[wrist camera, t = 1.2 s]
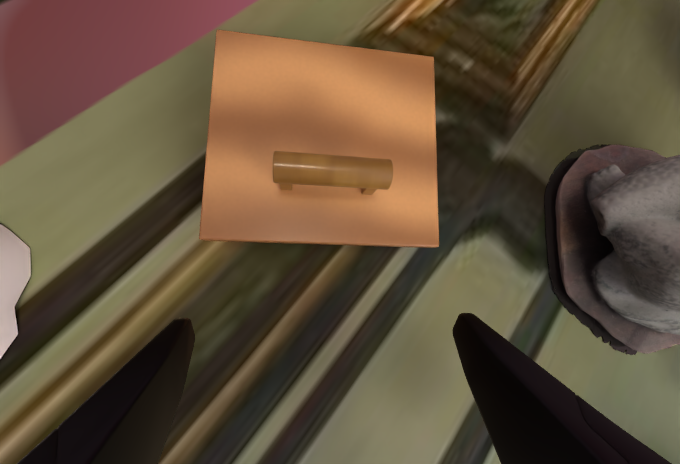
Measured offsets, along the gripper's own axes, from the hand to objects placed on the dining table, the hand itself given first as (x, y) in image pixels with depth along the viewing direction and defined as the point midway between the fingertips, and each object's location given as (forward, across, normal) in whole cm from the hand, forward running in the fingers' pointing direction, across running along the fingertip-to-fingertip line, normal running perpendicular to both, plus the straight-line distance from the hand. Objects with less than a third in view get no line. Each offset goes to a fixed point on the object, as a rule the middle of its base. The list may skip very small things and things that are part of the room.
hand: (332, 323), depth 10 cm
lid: (+13, 0, -2) cm, 13 cm away
